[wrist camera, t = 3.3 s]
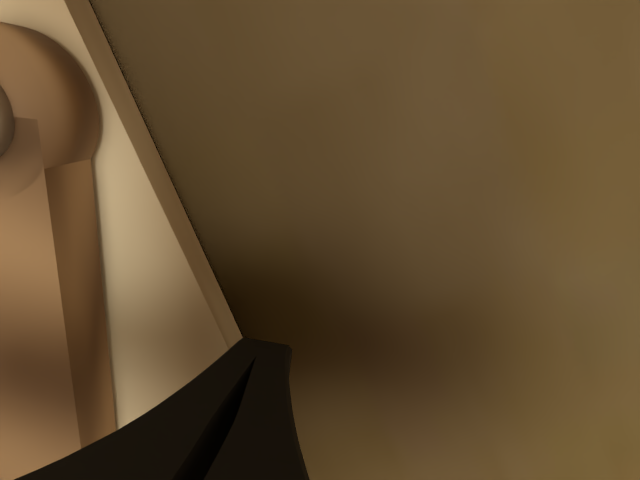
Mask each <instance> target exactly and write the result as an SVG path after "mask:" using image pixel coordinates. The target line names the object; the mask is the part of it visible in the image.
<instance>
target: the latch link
mask: <svg viewBox="0 0 640 480" xmlns="http://www.w3.org/2000/svg"><path fill="white" fill-rule="evenodd" d="M98 134H99V116H98V109H97V104H96V101H95V97H94V94H93V91H92V89H91V86H90V84H89V82H88V80H87V78H86V76H85V74H84V73H83V71H82V70H81V68H80V67H79V65H78V64H77V63H76V62H75V60H74V59H73V58H72V57H71V55H70V54H69V53H68V52H67V51H66V50H65V49H64V48H62V47H61V46H60V45H59V44H57V43H56V42H55V41H54V40H52V39H51V38H49V37H47V36H46V35H44V34H42V33H40V32H38V31H36V30H33V29H30V28H27V27H23V26H19V25H14V24H9V23H5V22H0V480H14V479H16V478H19V477H21V476H23V475H26V474H28V473H30V472H33V471H35V470H38V469H40V468H42V467H44V466H46V465H49V464H51V463H53V462H55V461H57V460H60V459H62V458H64V457H66V456H68V455H70V454H72V453H74V452H76V451H78V450H80V449H82V448H84V447H86V446H88V445H90V444H91V443H93V442H95V441H97V440H99V439H101V438H103V437H105V436H107V435H109V434H111V433H113V432H115V431H116V427H115V416H114V405H113V395H112V384H111V373H110V362H109V352H108V341H107V330H106V319H105V309H104V298H103V287H102V276H101V266H100V255H99V244H98V234H97V223H96V212H95V201H94V191H93V180H92V169H91V157H92V156H93V153H94V151H95V148H96V145H97V140H98Z"/></svg>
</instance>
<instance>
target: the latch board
mask: <svg viewBox="0 0 640 480" xmlns="http://www.w3.org/2000/svg"><path fill="white" fill-rule="evenodd" d="M0 22H5V23H9V24H14V25H19V26H23V27H27V28H30V29H33V30H36V31H38V32H40V33H42V34H44V35H46V36H47V37H49V38H51V39H52V40H54V41H55V42H56V43H57V44H59V45H60V46H61V47H62V48H64V49H65V50H66V51H67V52H68V53H69V54H70V55H71V57H72V58H73V59H74V60H75V62H76V63H77V64H78V65H79V67H80V68H81V70H82V71H83V73H84V74H85V76H86V78H87V80H88V82H89V84H90V86H91V89H92V91H93V94H94V97H95V101H96V104H97V109H98V116H99V134H98V140H97V145H96V148H95V151H94V153H93V156H92V157H91V169H92V180H93V191H94V201H95V212H96V223H97V234H98V244H99V255H100V266H101V276H102V287H103V298H104V309H105V319H106V330H107V341H108V352H109V362H110V373H111V384H112V395H113V405H114V416H115V427H116V430H118V429H120V428H122V427H123V426H125V425H127V424H128V423H130V422H132V421H133V420H135V419H137V418H138V417H140V416H141V415H143V414H145V413H146V412H148V411H149V410H151V409H152V408H154V407H155V406H157V405H158V404H160V403H161V402H162V401H164V400H165V399H167V398H168V397H169V396H171V395H172V394H174V393H175V392H176V391H178V390H179V389H181V388H182V387H183V386H185V385H186V384H187V383H189V382H190V381H191V380H193V379H194V378H195V377H196V376H198V375H199V374H200V373H201V372H203V371H204V370H205V369H206V368H208V367H209V366H210V365H211V364H212V363H214V362H215V361H216V360H217V359H218V358H219V357H221V356H222V355H223V354H224V353H225V352H226V351H228V350H229V349H230V348H231V347H232V346H233V345H234V344H236V343H237V342H238V341H239V340H240V339H242V338H243V337H242V335H241V333H240V330H239V328H238V326H237V324H236V322H235V320H234V317H233V315H232V313H231V311H230V309H229V306H228V304H227V302H226V300H225V298H224V295H223V293H222V291H221V289H220V287H219V285H218V282H217V280H216V278H215V276H214V274H213V271H212V269H211V267H210V265H209V263H208V260H207V258H206V256H205V254H204V252H203V249H202V247H201V245H200V243H199V241H198V239H197V236H196V234H195V232H194V230H193V228H192V225H191V223H190V221H189V219H188V217H187V214H186V212H185V210H184V208H183V206H182V204H181V201H180V199H179V197H178V195H177V193H176V190H175V188H174V186H173V184H172V182H171V179H170V177H169V175H168V173H167V171H166V169H165V166H164V164H163V162H162V160H161V158H160V155H159V153H158V151H157V149H156V147H155V144H154V142H153V140H152V138H151V136H150V134H149V131H148V129H147V127H146V125H145V123H144V120H143V118H142V116H141V114H140V112H139V109H138V107H137V105H136V103H135V101H134V98H133V96H132V94H131V92H130V90H129V88H128V85H127V83H126V81H125V79H124V77H123V74H122V72H121V70H120V68H119V66H118V63H117V61H116V59H115V57H114V55H113V53H112V50H111V48H110V46H109V44H108V42H107V39H106V37H105V35H104V33H103V31H102V28H101V26H100V24H99V22H98V20H97V18H96V15H95V13H94V11H93V9H92V7H91V4H90V2H89V0H0Z"/></svg>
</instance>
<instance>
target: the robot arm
mask: <svg viewBox="0 0 640 480" xmlns="http://www.w3.org/2000/svg"><path fill="white" fill-rule="evenodd" d="M291 355H292V349H291V348H290V347H289V345H284V344H278V343H272V342H266V341H261V340H255V339H249V338H242V339H240V340H239V341H238V342H237V343H236V344H234V345H233V346H232V347H231V348H230V349H229V350H228V351H226V352H225V353H224V354H223V355H222V356H221V357H219V358H218V359H217V360H216V361H215V362H214V363H212V364H211V365H210V366H209V367H208V368H206V369H205V370H204V371H203V372H201V373H200V374H199V375H198V376H196V377H195V378H194V379H193V380H191V381H190V382H189V383H187V384H186V385H185V386H183V387H182V388H181V389H179V390H178V391H176V392H175V393H174V394H172V395H171V396H169V397H168V398H167V399H165V400H164V401H162V402H161V403H160V404H158V405H157V406H155V407H154V408H152V409H151V410H149V411H148V412H146V413H145V414H143V415H141V416H140V417H138V418H137V419H135V420H133V421H132V422H130V423H128V424H127V425H125V426H123V427H122V428H120V429H118V430H116V431H115V432H113V433H111V434H109V435H107V436H105V437H103V438H101V439H99V440H97V441H95V442H93V443H91V444H90V445H88V446H86V447H84V448H82V449H80V450H78V451H76V452H74V453H72V454H70V455H68V456H66V457H64V458H62V459H60V460H57V461H55V462H53V463H51V464H49V465H46V466H44V467H42V468H40V469H38V470H35V471H33V472H30V473H28V474H26V475H23V476H21V477H19V478H16V479H14V480H309V477H308V473H307V470H306V467H305V464H304V460H303V457H302V453H301V449H300V445H299V441H298V437H297V433H296V428H295V423H294V418H293V412H292V405H291V397H290V388H289V372H290V363H291Z"/></svg>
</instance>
